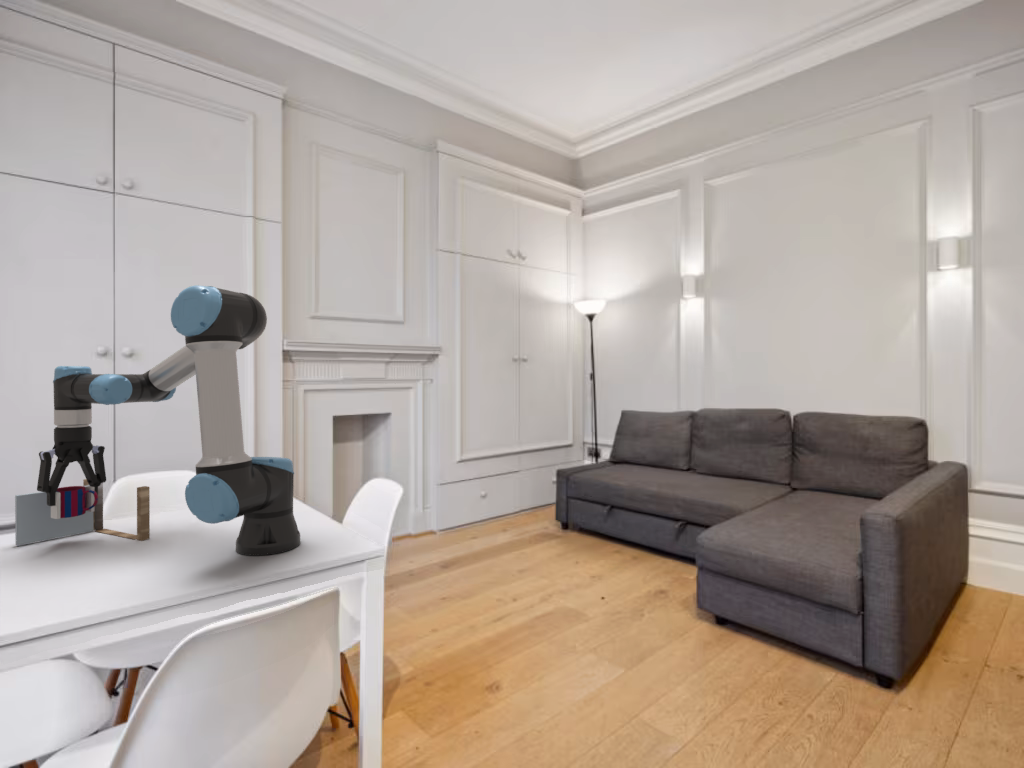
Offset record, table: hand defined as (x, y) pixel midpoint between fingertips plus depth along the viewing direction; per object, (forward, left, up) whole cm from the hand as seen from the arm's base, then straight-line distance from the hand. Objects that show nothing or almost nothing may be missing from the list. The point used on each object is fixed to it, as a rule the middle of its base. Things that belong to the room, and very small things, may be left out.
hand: (73, 514), depth 137 cm
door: (+10, -1, -7) cm, 12 cm away
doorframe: (0, -10, -8) cm, 13 cm away
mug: (0, -1, 0) cm, 1 cm away
